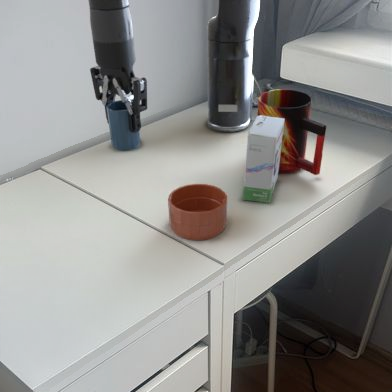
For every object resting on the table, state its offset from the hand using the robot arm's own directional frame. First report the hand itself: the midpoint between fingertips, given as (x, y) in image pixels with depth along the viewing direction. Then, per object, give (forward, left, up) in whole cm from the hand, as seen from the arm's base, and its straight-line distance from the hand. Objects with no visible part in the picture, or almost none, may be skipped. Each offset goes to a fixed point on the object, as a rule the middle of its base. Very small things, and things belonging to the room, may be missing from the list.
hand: (123, 127), depth 104 cm
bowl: (+14, +33, -4) cm, 36 cm away
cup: (0, 0, -4) cm, 4 cm away
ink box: (-2, +34, -4) cm, 34 cm away
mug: (-14, +32, -4) cm, 35 cm away
